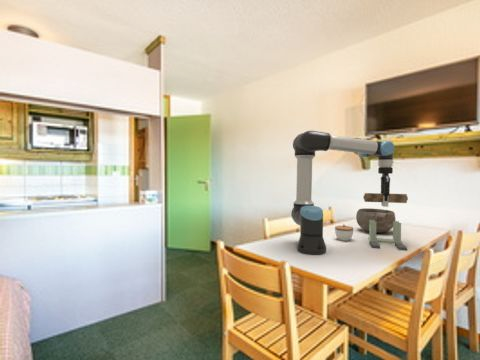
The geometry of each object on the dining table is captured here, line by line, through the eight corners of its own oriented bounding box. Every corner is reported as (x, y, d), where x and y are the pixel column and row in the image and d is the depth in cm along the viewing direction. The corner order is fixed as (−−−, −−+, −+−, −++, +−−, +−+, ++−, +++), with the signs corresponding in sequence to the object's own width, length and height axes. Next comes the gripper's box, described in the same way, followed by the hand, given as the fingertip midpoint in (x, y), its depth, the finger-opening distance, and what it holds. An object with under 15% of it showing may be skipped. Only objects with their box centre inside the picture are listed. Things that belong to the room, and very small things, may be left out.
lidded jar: (347, 243, 157) (347, 227, 157) (331, 239, 166) (331, 224, 165) (356, 239, 164) (356, 224, 164) (340, 236, 172) (340, 222, 172)
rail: (364, 201, 161) (364, 193, 161) (363, 201, 164) (363, 193, 164) (407, 203, 154) (408, 194, 154) (406, 202, 158) (406, 194, 157)
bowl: (394, 237, 169) (395, 214, 169) (353, 233, 182) (353, 211, 181) (395, 230, 190) (396, 209, 189) (358, 226, 202) (358, 207, 202)
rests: (371, 247, 147) (371, 245, 147) (369, 243, 156) (369, 241, 155) (407, 250, 142) (407, 247, 142) (402, 246, 150) (402, 243, 150)
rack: (369, 241, 160) (369, 221, 160) (368, 238, 166) (368, 219, 166) (401, 243, 155) (402, 223, 155) (399, 241, 161) (399, 221, 160)
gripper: (396, 166, 150) (395, 208, 150) (389, 167, 165) (388, 204, 166) (381, 166, 152) (380, 207, 153) (375, 167, 168) (375, 204, 168)
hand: (384, 206), depth 159 cm, fingers closed on rail, 3 cm apart
